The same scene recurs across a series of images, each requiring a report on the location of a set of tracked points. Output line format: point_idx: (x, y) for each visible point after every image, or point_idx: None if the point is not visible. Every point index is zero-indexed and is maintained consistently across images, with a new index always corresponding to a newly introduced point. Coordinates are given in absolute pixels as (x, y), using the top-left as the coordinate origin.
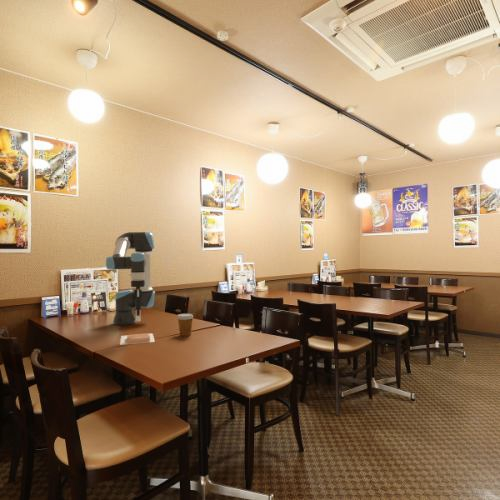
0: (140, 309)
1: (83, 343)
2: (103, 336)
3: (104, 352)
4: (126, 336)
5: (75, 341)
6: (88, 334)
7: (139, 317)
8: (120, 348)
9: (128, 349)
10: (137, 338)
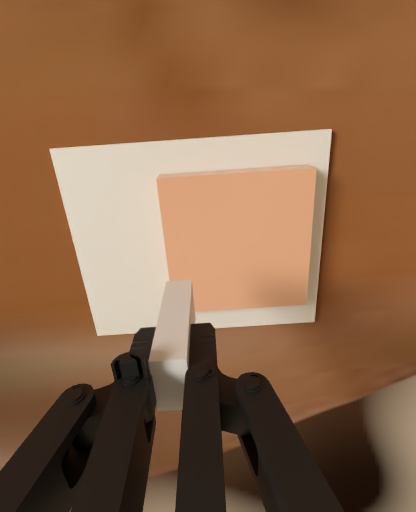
0: (154, 362)
1: None
2: None
3: (400, 362)
4: (119, 308)
5: (151, 476)
6: None
7: (191, 310)
8: (363, 310)
9: (406, 273)
10: (302, 249)
